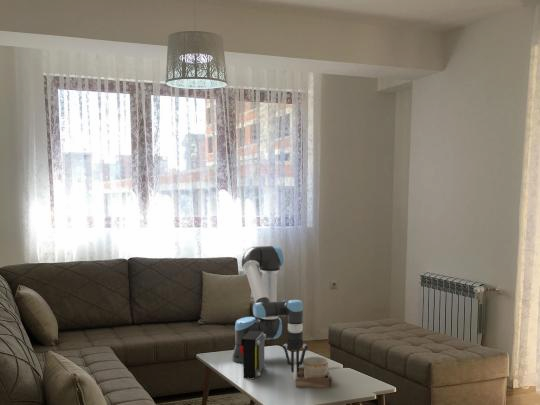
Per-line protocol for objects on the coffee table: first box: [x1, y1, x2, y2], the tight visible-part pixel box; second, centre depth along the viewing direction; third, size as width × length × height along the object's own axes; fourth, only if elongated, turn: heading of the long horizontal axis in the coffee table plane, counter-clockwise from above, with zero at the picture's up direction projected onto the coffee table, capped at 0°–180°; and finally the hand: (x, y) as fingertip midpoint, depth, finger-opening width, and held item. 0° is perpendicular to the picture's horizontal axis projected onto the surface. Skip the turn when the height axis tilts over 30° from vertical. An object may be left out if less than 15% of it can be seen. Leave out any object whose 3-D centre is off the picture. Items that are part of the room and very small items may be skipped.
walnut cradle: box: [295, 366, 332, 388], centre depth 273 cm, size 18×17×4 cm
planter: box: [302, 356, 329, 378], centre depth 273 cm, size 13×13×10 cm
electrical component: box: [240, 331, 267, 379], centre depth 286 cm, size 18×10×20 cm, turn 168°
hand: (294, 378), depth 272 cm, fingers closed
